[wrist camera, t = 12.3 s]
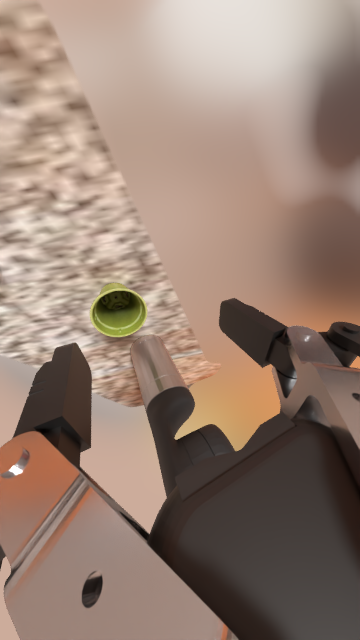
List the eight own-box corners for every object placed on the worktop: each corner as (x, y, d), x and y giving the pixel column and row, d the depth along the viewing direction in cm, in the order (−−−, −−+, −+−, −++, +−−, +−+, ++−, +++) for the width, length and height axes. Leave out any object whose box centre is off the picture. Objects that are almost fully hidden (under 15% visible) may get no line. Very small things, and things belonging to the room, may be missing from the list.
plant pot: (82, 280, 31) (79, 298, 25) (131, 269, 34) (140, 282, 27) (100, 320, 37) (102, 344, 30) (142, 308, 39) (152, 327, 33)
